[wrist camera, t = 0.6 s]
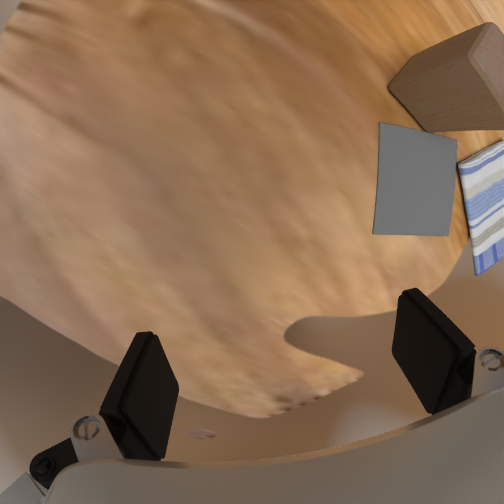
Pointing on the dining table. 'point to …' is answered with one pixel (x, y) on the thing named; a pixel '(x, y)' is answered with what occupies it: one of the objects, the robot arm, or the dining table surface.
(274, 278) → the dining table surface
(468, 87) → the wooden block
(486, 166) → the dish towel
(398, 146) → the mat
